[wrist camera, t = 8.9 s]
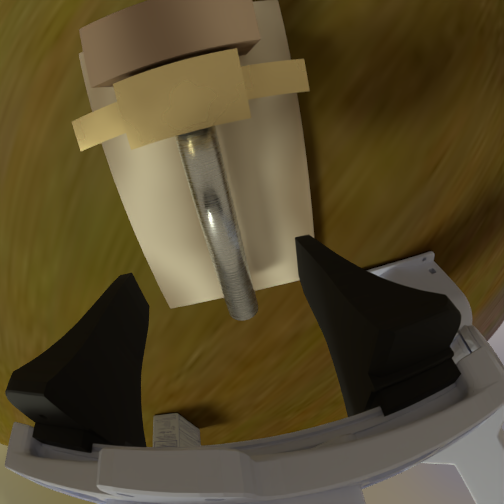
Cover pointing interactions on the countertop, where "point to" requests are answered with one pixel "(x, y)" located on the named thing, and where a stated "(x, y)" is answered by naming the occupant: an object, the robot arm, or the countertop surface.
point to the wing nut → (187, 98)
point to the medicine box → (174, 431)
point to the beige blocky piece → (229, 135)
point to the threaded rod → (218, 218)
